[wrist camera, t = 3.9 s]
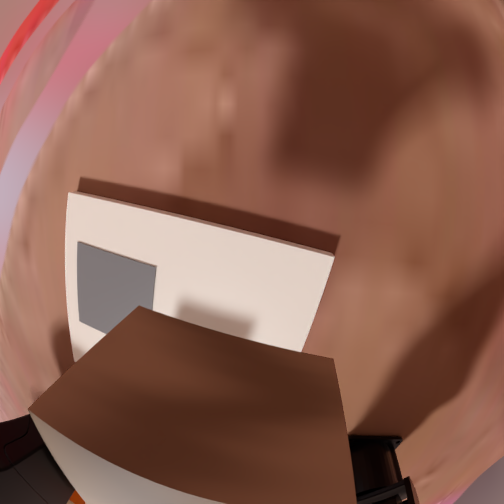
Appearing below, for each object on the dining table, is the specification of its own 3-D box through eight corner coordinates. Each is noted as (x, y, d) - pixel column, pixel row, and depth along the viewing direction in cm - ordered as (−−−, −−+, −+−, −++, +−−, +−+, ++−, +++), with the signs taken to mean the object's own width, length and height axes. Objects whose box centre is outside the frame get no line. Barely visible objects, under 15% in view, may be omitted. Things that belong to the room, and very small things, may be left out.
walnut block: (333, 358, 7) (357, 513, 3) (276, 461, 9) (264, 560, 4) (138, 305, 8) (27, 409, 3) (139, 421, 9) (89, 507, 5)
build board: (331, 252, 17) (334, 257, 16) (267, 424, 21) (265, 433, 20) (76, 191, 18) (67, 192, 17) (79, 356, 22) (73, 361, 21)
